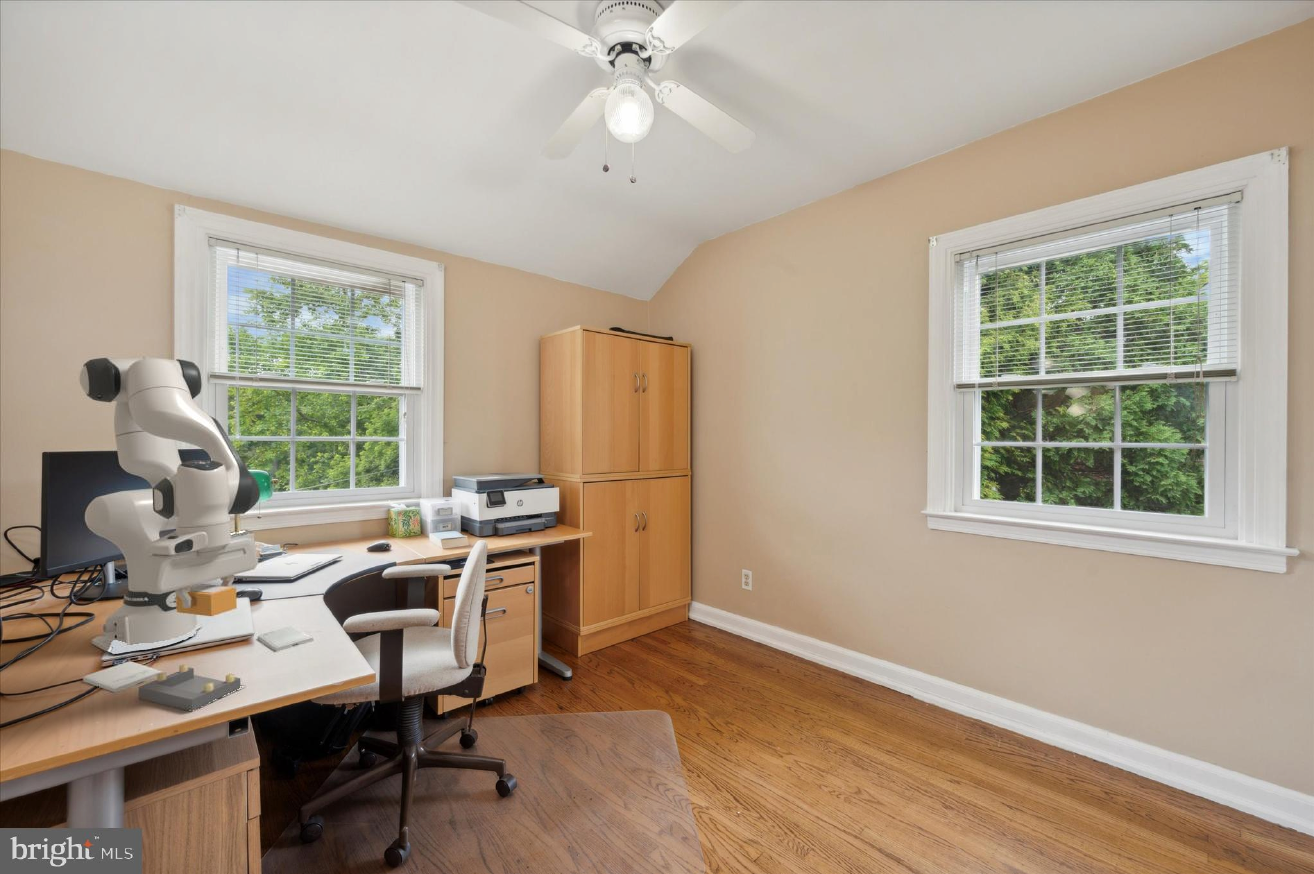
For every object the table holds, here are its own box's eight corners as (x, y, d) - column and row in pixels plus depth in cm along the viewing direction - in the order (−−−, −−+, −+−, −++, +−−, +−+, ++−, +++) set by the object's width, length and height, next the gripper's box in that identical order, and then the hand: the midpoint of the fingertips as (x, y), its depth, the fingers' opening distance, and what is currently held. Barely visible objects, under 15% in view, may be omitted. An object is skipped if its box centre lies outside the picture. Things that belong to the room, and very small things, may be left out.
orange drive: (176, 612, 112) (176, 590, 112) (202, 604, 117) (202, 583, 117) (211, 616, 110) (210, 593, 109) (236, 608, 114) (236, 586, 114)
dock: (138, 698, 108) (138, 681, 108) (194, 676, 118) (193, 660, 118) (192, 711, 104) (192, 693, 104) (245, 687, 113) (245, 670, 113)
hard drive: (257, 635, 138) (276, 647, 130) (293, 625, 144) (313, 636, 137) (257, 641, 138) (276, 654, 130) (293, 631, 144) (313, 643, 137)
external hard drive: (131, 667, 123) (163, 677, 118) (82, 683, 115) (115, 695, 111) (131, 660, 123) (163, 670, 118) (82, 676, 115) (115, 687, 111)
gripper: (243, 527, 124) (245, 586, 124) (136, 547, 104) (138, 617, 104) (264, 528, 122) (265, 588, 122) (159, 548, 102) (161, 620, 103)
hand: (206, 602), depth 113 cm, fingers closed on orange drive, 5 cm apart
